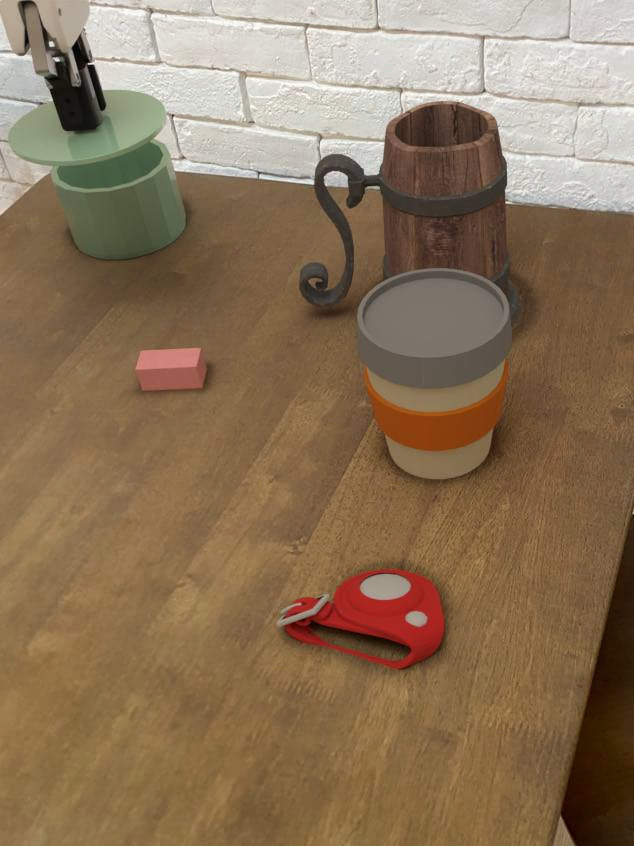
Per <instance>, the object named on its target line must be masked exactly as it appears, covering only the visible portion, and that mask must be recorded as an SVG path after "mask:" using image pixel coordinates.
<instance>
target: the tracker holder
mask: <svg viewBox="0 0 634 846" xmlns="http://www.w3.org/2000/svg"><path fill="white" fill-rule="evenodd" d="M330 599H331V595H330V594H329V593H328V592H327V593H325V594H322V595H319V596H317V597H312V596H303V597H299V598H298V599H296V600H294V601H293V602H292V604H291V605H288V606H285V607H284V608H282V609H281V610H280V614H281V617H280V618H279V619H278V620H277V621H276V623H275V625H276V627H277V628H282V627H284V629H285V630H286V632H287V633H288V635H290V637H292V638H294V639H295V640H297V641H299V642H301V643H305V644H309V645H315V646H319V647H320V646H321V647H326V648H329V649H334V650H337V651H340V652H342V653H346V654H349V655H352V656H356V657H357V658H361V659H364V660H368V661H370V662H374V663H375V664H376V663H377V664H379V665H384V666H386V667H389V668H391V669H394V670H401V669H404V668H407V667H409V666H413V665H414V664H417V663H419V662H421V661H423V660H426V659H428V658H429V657H431V656H433V654H435V652H436V651H437V650H438V649H439V647H440V645H441V643H442V640H443V638H444V633H445V617H444V611H443V606H442V602H441V598H440V595H439V592H438V590H437V588H436V587H435V585H434V583H433V582H432V581H431V580H429V578H427V577H425V576H423V575H421V574H418V573H415V572H412V571H407V570H404V569H403V570H402V569H389V568H388V569H387V568H385V569H384V568H383V569H373V570H369V571H364V572H361V573H358V574H356V575H353V576H351V577H349V578H348V579H346V580H345V581H344V582H341V583H340V585H339V586H338V587H337V589H336V590H335V592H334V595H333V600H332V602H330V601H329V600H330ZM312 621H313V622H315V623H317V624H320V625H322V626H325V627H330V628H335V629H339V630H343V631H349V632H354V633H357V634H358V633H359V634H363V635H368V636H373V637H377V638H383V639H387V640H389V641H392V642H395V643H398V644H401V645H404V646H406V647H407V648H409V649H410V652H409V654H408V655H407V656H406V657H405V658H402V659H396V660H392V659H391V660H389V659H386V658H382V657H378V656H375V655H372V654H367V653H364V652H360V651H356V650H353V649H349V648H345V647H342V646H338V645H334V644H331V643H329V642H327V641H325V640H323V638H321V637H320V635H318V634H317V633H316V632H314V630H313V628H311V627H310V626H309V625H310V624H311V622H312ZM312 632H313V633H314V634H311V633H312Z"/></svg>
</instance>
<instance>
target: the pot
mask: <svg viewBox="0 0 634 846" xmlns="http://www.w3.org/2000/svg"><path fill="white" fill-rule="evenodd" d="M49 175H50V177H51V180H52V183H53V186H54V189H55V192H56V195H57V197H58V199H59V203H60V205H61V208H62V211H63V214H64V217H65V219H66V222H67V225H68V227H69V230H70V234H71V236H72V239H73V241H74V244H75V246H76V248H77V249H78V250H79V251H80V252H81V253H82V254H85V255H87V256H89V257H92V258H96V259H101V260H109V261H110V260H111V261H114V260H115V261H116V260H128V259H129V260H130V259H134V258H140V257H143V256H146V255H150V254H152V253H155V252H158V251H159V250H162V249H164V248H166V247H167V246H170V244H173V242H174V241H176V240H177V239H179V237H180V236H181V235H182V234H183V232H184V230H185V228H186V224H187V213H186V209H185V206H184V202H183V198H182V194H181V191H180V187H179V182H178V179H177V175H176V171H175V167H174V164H173V159H172V155H171V152H170V151H169V149H168V146H167V145H166V144H165V143H163V142H162V141H160V140H158V139H156V138H153V139H152V140H151V141H149V142H148V143H146V144H144V145H143V146H141V147H139V148H137V149H135V150H133V151H131V152H128V153H126V154H123V155H121V156H118V157H115V158H111V159H108V160H104V161H100V162H95V163H89V164H83V165H74V166H51V169H50V170H49Z"/></svg>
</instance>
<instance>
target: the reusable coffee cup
mask: <svg viewBox="0 0 634 846" xmlns="http://www.w3.org/2000/svg"><path fill="white" fill-rule="evenodd" d="M512 344H513V331H512V328H511V320H510V310H509V303H508V301H507V298H506V296H505V294H504V293H503V292H502V291H501V289H500V288H499V287H498V286H496V285H495V284H494V283H493V282H491V281H489V280H488V279H486V278H484V277H482V276H479V275H477V274H474V273H471V272H467V271H462V270H457V269H447V268H429V269H421V270H414V271H410V272H406V273H402V274H399V275H396V276H394V277H391V278H389V279H387V280H385V281H384V280H383V281H382V282H380V283H378V284H376V285H375V286H374V287H372V288H371V289H370V290H369V291H368V292H367V293H366V294H365V295H364V297H363V298H362V299H361V301H360V304H359V306H358V307H357V313H356V348H357V354H358V356H359V358H360V360H361V362H362V364H363V365H364V366H363V367H364V369H363V379H364V383H365V386H366V390H367V395H368V398H369V402H370V405H371V408H372V411H373V415H374V419H375V422H376V424H377V426H378V427H379V429H380V431H381V432H382V433H383V434H384V438H385V441H386V444H387V447H388V452H389V455H390V457H391V459H392V461H393V462H394V463H395V464H396V465H397V467H399V468H400V469H402V470H403V471H404V472H406V473H408V474H410V475H412V476H415V477H419V478H422V479H428V480H446V479H454V478H457V477H460V476H464V475H466V474H468V473H470V472H472V471H473V470H475V469H476V468H478V467H480V465H481V464H482V463H483V462H484V461H485V460H486V458H487V457H488V455H489V452H490V448H491V445H492V438H493V434H494V433H493V432H494V428H495V426H496V425H497V423H498V421H499V420H500V417H501V413H502V409H503V403H504V398H505V392H506V387H507V380H508V375H509V361H508V358H507V356H508V355H509V353H510V351H511V348H512Z"/></svg>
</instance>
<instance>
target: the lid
mask: <svg viewBox="0 0 634 846" xmlns="http://www.w3.org/2000/svg"><path fill="white" fill-rule="evenodd" d="M75 62H76V66H77V69H78V73H79V76H80V81H81V82H85V83H86V86H87V89H88V92H89V96H90V99H91V102H92V105H93V109H94V112H95V115H96V118H97V121H98V126H97V128H96V129H94V130H81V131H65V130H63V128H62V126H61V123H60V120H59V117H58V114H57V111H56V108H55V105H54V102H53V100H51V101H49V102H45V103H43V104H42V105H40V106H37V107H35V108H34V109H31V110H30V111H28V112H27V113H25V114H23V115H22V116H21V117H19V119H18V120H16V122H14V124H12V127H10V129H9V132H8V134H7V141H8V142H7V143H8V145H9V148H10V150H11V152H12V153H13V154H14V155H15V156H17V157H18V158H19V159H21V160H24V161H26V162H27V163H28V162H29V163H32V164H36V165H41V166H47V167H48V166H50V167H53V166H74V165H83V164H89V163H95V162H100V161H104V160H108V159H111V158H115V157H118V156H121V155H123V154H126V153H128V152H131V151H133V150H135V149H137V148H139V147H141V146H143V145H144V144H146V143H148V142H149V141H151V140H152V139H153V138H154V139H156V137H157V136H158V135H159V134H160V133H161V132H162V130H163V129H164V128H165V126H166V124H167V121H168V113H167V109H166V108H165V105H164V104H163V103H162V102H161V100H159V99H158V98H156V97H155V96H153V95H151V94H148V93H145V92H140V91H136V90H131V89H130V90H129V89H128V90H127V89H102V92H103V95H104V98H105V102H106V108H105V110H104V111H101V110H100V107H99V104H98V100H97V97H96V94H95V91H94V87H93V84H92V81H91V77H90V74H89V71H88V68H87V64H86V63H85V62H82V61H75ZM63 64H64V65H65V66H66V64H65V62H64V63H63Z"/></svg>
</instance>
